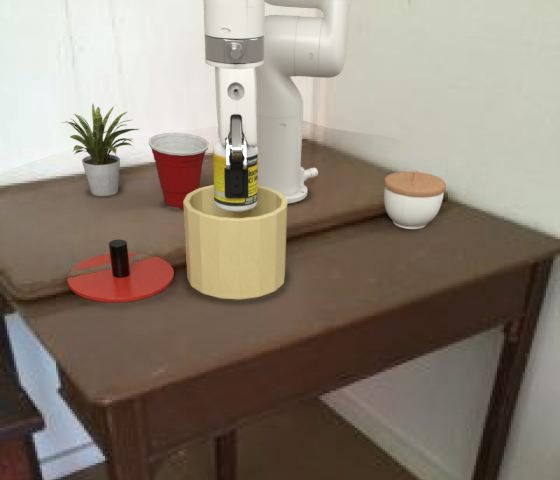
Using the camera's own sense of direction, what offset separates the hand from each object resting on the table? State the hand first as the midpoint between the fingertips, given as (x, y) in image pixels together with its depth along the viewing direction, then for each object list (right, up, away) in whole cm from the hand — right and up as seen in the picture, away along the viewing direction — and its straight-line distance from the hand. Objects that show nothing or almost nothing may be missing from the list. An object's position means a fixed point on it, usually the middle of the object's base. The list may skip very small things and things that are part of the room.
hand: (235, 187), depth 99 cm
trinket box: (+30, +1, +29) cm, 42 cm away
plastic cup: (-12, +5, +33) cm, 36 cm away
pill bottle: (0, -2, +2) cm, 3 cm away
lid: (-18, -12, +6) cm, 22 cm away
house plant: (-28, +8, +37) cm, 47 cm away
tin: (0, -12, +8) cm, 14 cm away
